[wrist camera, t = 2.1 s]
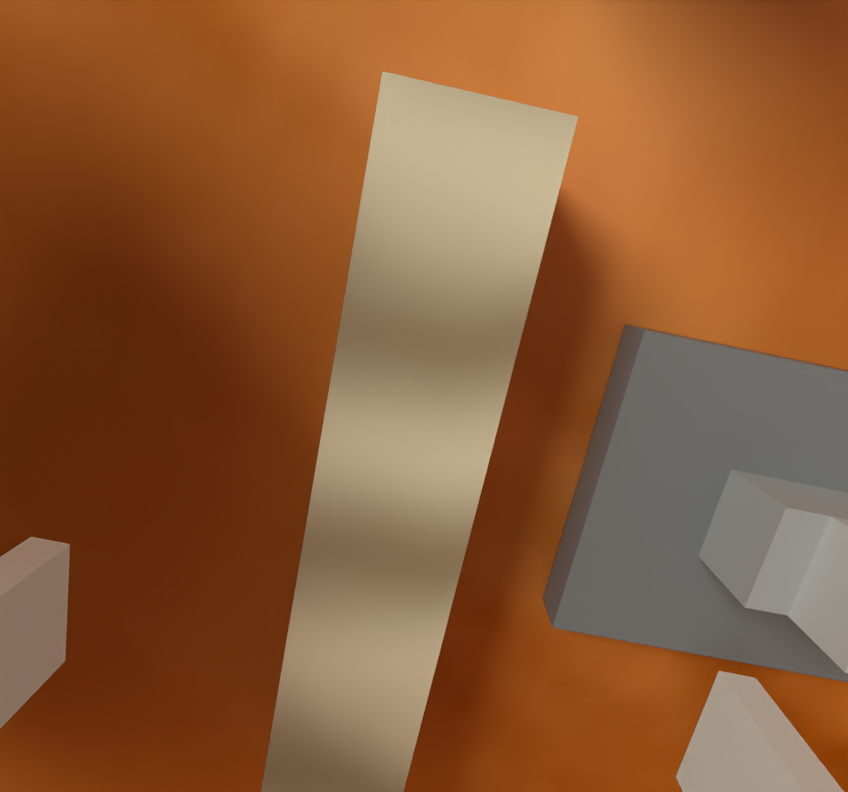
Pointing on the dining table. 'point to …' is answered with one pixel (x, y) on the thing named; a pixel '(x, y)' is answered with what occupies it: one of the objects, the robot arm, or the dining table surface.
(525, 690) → the dining table surface
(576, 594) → the fulcrum
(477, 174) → the beam
